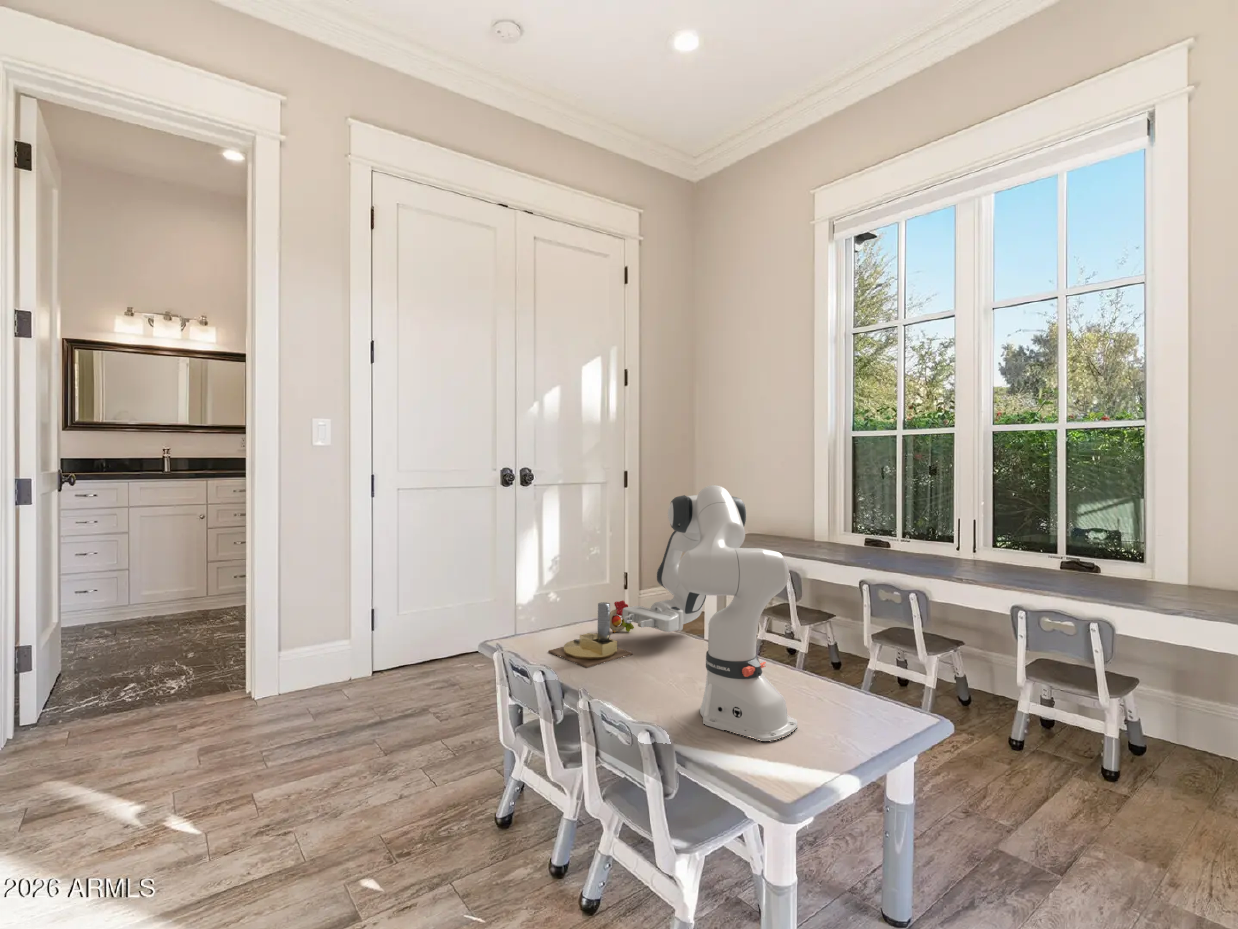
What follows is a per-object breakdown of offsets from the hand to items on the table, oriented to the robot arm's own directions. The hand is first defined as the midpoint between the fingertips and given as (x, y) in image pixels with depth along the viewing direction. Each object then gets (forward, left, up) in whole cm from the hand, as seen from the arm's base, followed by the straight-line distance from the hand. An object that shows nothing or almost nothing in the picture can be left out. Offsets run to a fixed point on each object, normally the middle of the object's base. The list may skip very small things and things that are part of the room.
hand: (632, 622), depth 193 cm
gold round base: (+6, +12, -9) cm, 16 cm away
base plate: (+6, +12, -9) cm, 16 cm away
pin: (0, +12, -6) cm, 14 cm away
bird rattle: (+17, -11, -9) cm, 22 cm away
